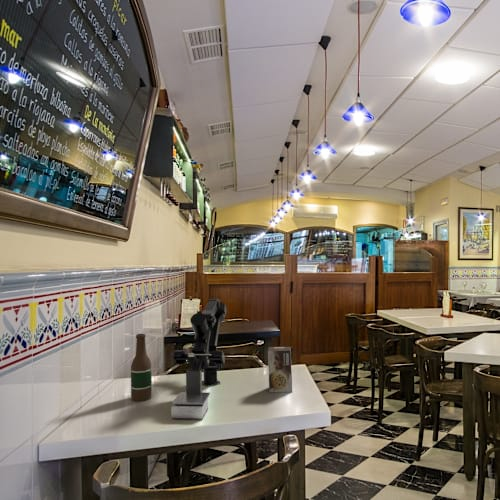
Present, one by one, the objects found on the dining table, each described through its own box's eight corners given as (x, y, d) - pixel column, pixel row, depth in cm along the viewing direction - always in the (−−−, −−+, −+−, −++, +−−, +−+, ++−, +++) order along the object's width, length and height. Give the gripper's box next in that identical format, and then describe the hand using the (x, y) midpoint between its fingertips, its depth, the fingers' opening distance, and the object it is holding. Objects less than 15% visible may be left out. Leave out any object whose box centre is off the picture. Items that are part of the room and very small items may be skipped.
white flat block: (179, 408, 129) (179, 397, 129) (208, 409, 128) (207, 397, 128) (171, 419, 120) (171, 407, 120) (202, 420, 119) (201, 407, 119)
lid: (180, 393, 131) (180, 369, 132) (210, 394, 130) (209, 369, 131) (172, 404, 122) (171, 377, 122) (203, 404, 121) (203, 377, 121)
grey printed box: (292, 387, 149) (291, 346, 149) (292, 392, 142) (291, 350, 143) (269, 386, 150) (268, 346, 150) (268, 392, 143) (267, 350, 144)
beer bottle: (146, 402, 136) (145, 336, 137) (126, 401, 137) (126, 336, 138) (155, 395, 143) (154, 332, 144) (137, 394, 145) (136, 332, 146)
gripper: (228, 352, 147) (224, 390, 136) (182, 352, 149) (174, 389, 138) (224, 336, 140) (219, 374, 128) (176, 336, 142) (167, 374, 130)
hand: (194, 378), depth 131 cm, fingers closed, pressing on lid
